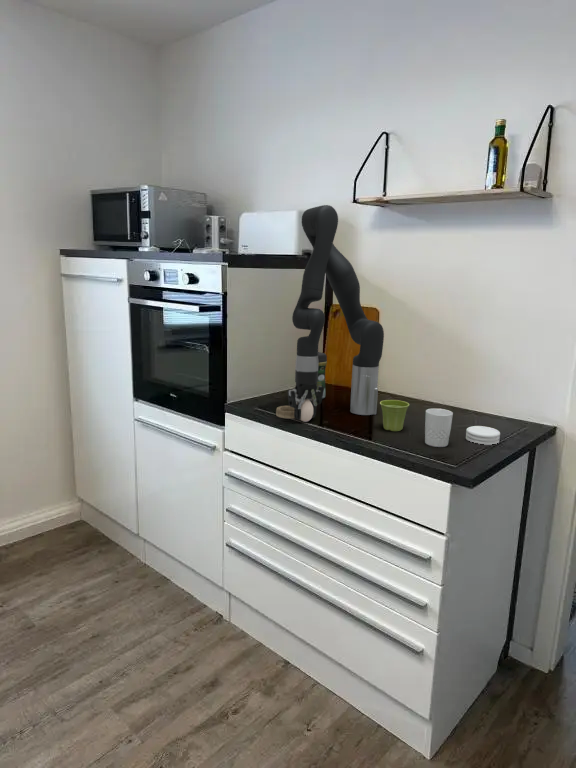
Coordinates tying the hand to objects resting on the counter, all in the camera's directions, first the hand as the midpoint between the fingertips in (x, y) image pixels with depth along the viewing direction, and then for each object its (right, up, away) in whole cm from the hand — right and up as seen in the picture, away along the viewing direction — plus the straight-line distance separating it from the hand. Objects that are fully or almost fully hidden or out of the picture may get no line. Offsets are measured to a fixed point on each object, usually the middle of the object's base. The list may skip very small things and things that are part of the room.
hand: (304, 417), depth 190 cm
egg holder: (-5, 0, +8) cm, 9 cm away
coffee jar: (+4, +6, +33) cm, 34 cm away
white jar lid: (+55, -7, -14) cm, 57 cm away
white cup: (+39, -7, -19) cm, 44 cm away
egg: (0, -2, 0) cm, 2 cm away
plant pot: (+29, -4, -5) cm, 29 cm away
